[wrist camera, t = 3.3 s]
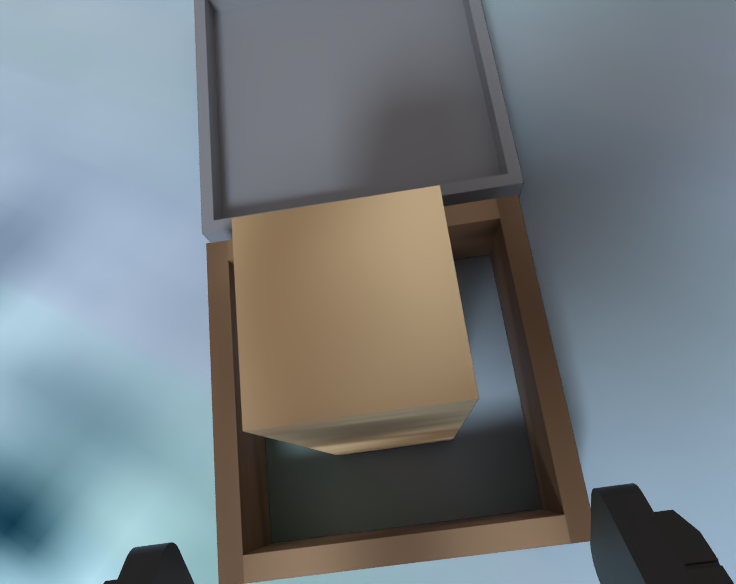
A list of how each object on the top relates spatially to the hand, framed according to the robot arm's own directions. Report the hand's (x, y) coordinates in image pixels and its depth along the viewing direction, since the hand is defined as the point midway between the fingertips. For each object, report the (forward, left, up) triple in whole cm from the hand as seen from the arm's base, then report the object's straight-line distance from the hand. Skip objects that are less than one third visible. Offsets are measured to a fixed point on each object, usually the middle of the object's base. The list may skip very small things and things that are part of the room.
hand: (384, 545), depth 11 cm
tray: (0, -18, -11) cm, 21 cm away
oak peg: (0, -5, -11) cm, 12 cm away
